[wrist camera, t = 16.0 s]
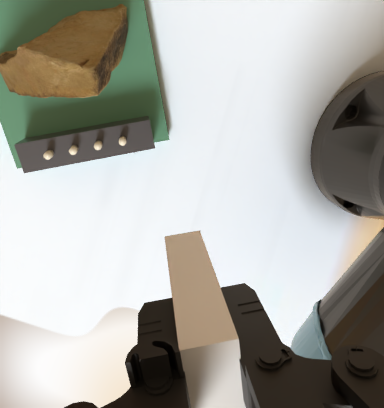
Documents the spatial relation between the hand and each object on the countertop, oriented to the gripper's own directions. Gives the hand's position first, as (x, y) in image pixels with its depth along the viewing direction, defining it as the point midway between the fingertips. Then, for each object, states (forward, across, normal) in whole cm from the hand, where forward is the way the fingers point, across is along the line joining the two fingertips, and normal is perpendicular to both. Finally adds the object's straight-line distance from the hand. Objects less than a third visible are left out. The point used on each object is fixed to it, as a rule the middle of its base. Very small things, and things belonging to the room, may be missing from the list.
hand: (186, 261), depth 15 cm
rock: (+19, +7, -11) cm, 23 cm away
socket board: (+20, +6, -11) cm, 24 cm away
